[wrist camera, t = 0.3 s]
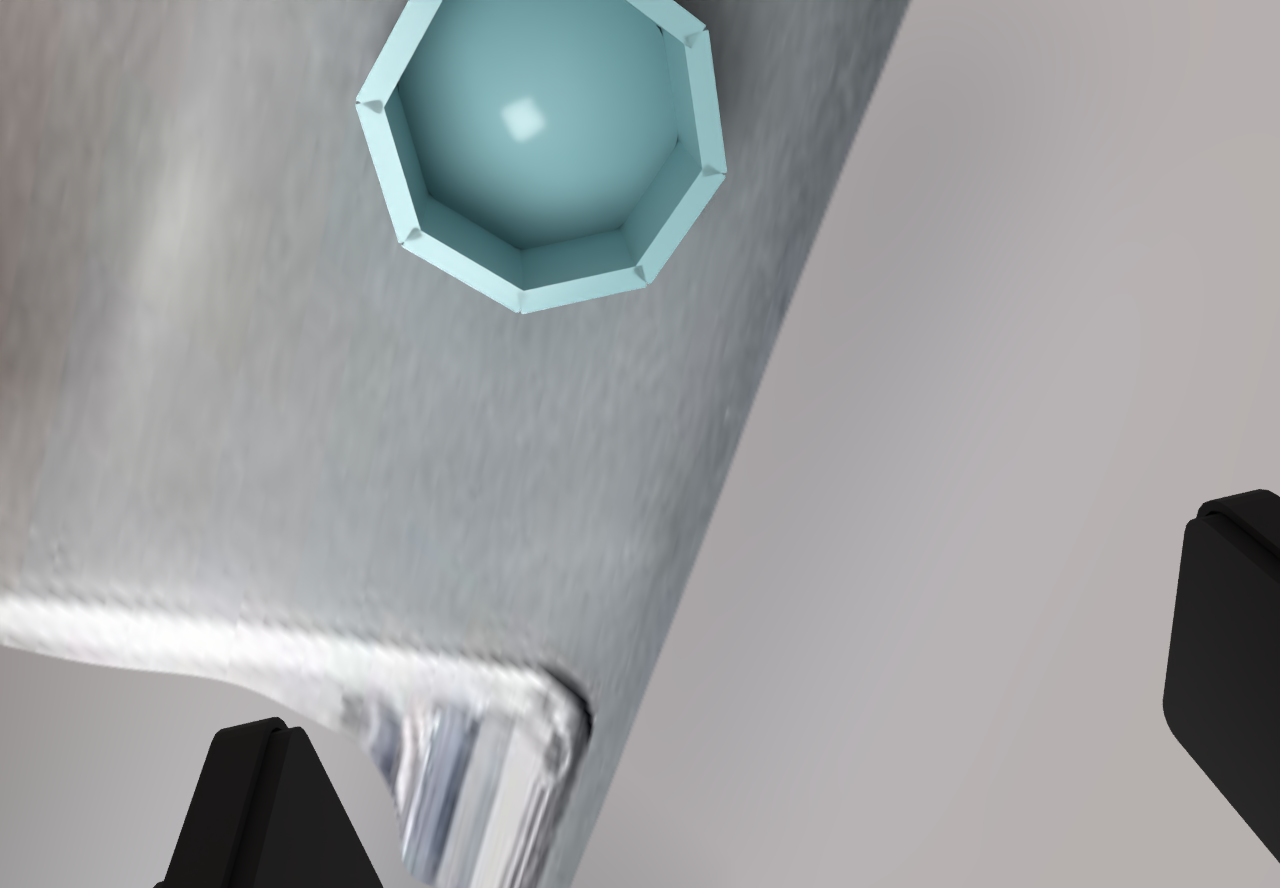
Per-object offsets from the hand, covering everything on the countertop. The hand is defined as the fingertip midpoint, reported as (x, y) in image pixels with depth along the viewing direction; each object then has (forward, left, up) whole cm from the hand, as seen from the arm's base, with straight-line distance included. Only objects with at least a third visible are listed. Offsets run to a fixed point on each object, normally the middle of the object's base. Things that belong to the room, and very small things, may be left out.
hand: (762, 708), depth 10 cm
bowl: (-1, -1, -30) cm, 30 cm away
